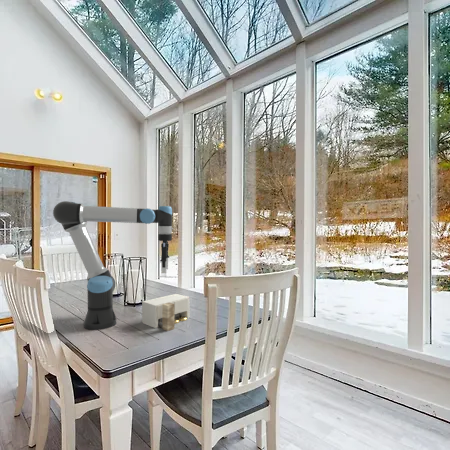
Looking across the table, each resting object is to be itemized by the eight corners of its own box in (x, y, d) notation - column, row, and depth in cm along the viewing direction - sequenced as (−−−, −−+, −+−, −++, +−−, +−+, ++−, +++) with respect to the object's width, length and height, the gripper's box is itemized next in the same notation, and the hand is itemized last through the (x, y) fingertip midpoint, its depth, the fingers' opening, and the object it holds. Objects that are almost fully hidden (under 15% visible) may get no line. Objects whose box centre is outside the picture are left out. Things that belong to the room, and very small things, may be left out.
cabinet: (155, 328, 154) (155, 305, 153) (142, 323, 161) (142, 301, 161) (189, 317, 170) (189, 297, 170) (176, 313, 178) (176, 293, 177)
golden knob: (174, 324, 160) (174, 322, 160) (168, 322, 163) (168, 320, 163) (181, 322, 163) (181, 320, 163) (175, 320, 166) (175, 318, 166)
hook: (167, 331, 150) (167, 305, 150) (152, 325, 158) (152, 301, 158) (194, 322, 163) (194, 298, 162) (178, 317, 171) (178, 294, 170)
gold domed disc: (182, 322, 164) (182, 319, 164) (176, 320, 167) (176, 318, 167) (188, 320, 167) (188, 317, 167) (183, 318, 170) (183, 316, 170)
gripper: (170, 234, 167) (170, 275, 168) (172, 232, 192) (172, 267, 193) (156, 234, 167) (155, 275, 167) (160, 232, 191) (159, 267, 192)
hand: (164, 271), depth 180 cm, fingers open, 13 cm apart
